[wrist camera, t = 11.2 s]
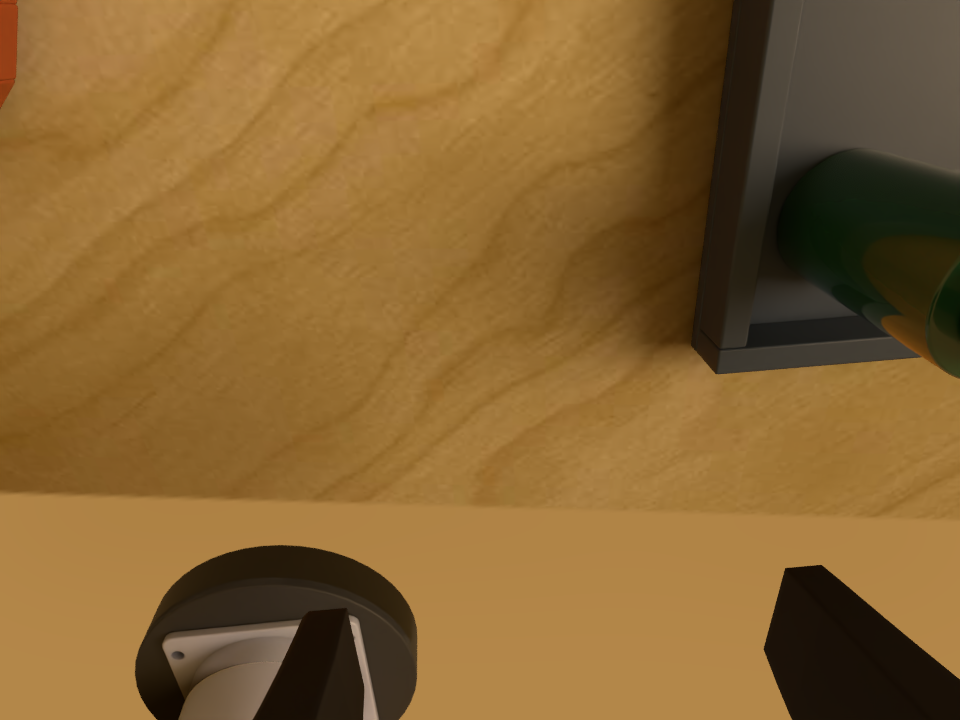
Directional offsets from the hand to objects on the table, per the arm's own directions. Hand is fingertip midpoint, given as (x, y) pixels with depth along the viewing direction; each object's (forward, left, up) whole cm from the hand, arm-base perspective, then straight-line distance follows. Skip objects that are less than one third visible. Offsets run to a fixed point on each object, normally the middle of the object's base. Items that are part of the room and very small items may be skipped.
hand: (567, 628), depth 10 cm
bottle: (+4, -10, -10) cm, 14 cm away
